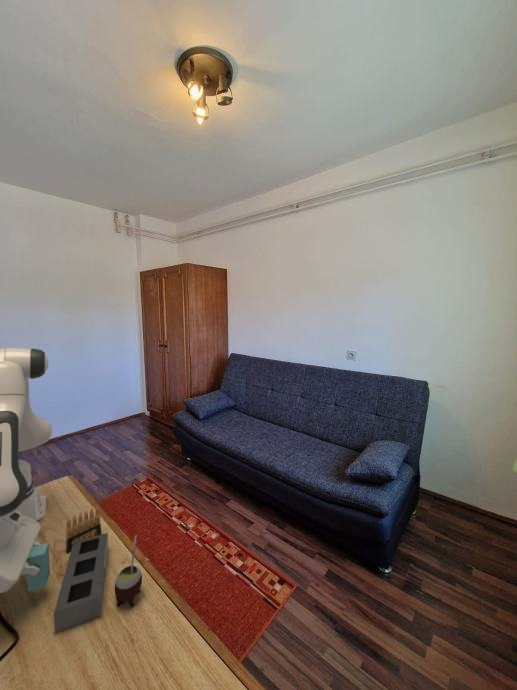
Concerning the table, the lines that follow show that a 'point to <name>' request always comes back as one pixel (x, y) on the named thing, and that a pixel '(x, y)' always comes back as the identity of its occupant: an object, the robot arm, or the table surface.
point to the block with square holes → (82, 583)
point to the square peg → (41, 558)
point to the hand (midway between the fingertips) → (41, 562)
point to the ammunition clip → (82, 528)
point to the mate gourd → (128, 582)
